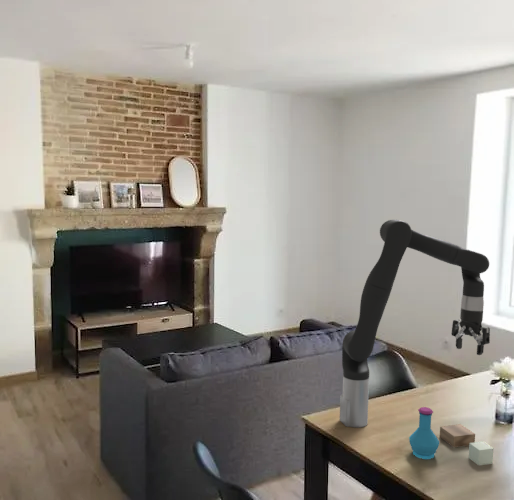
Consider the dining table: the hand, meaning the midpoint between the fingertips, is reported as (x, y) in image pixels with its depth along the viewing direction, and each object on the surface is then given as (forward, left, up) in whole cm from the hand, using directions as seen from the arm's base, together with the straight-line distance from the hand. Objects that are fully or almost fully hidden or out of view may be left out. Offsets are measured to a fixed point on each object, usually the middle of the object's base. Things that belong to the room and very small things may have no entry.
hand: (469, 351), depth 203 cm
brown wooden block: (-13, -14, -26) cm, 32 cm away
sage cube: (-14, -28, -26) cm, 41 cm away
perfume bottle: (-29, -20, -26) cm, 44 cm away
